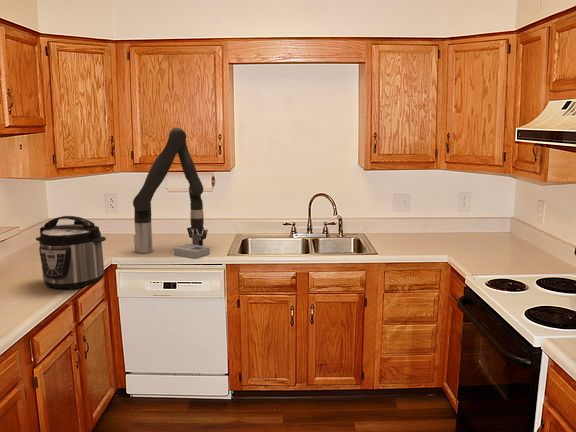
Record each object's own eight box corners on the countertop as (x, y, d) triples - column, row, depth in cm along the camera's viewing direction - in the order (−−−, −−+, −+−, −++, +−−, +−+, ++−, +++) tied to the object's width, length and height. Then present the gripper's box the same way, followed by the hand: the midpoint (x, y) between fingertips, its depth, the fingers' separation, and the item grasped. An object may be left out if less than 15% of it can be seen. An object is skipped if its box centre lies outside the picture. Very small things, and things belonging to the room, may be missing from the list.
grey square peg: (192, 248, 328) (192, 234, 327) (197, 246, 332) (196, 233, 330) (198, 248, 326) (198, 235, 325) (202, 247, 330) (202, 233, 328)
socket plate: (173, 255, 314) (173, 247, 313) (187, 250, 324) (187, 243, 323) (196, 258, 306) (196, 251, 305) (209, 253, 316) (209, 246, 315)
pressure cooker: (30, 282, 266) (24, 216, 260) (87, 269, 286) (82, 208, 280) (57, 296, 245) (51, 225, 239) (116, 282, 265) (112, 216, 259)
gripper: (183, 216, 326) (184, 245, 329) (202, 219, 319) (203, 248, 322) (191, 214, 332) (192, 243, 335) (210, 216, 325) (211, 245, 329)
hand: (197, 245), depth 329 cm, fingers closed on grey square peg, 4 cm apart
